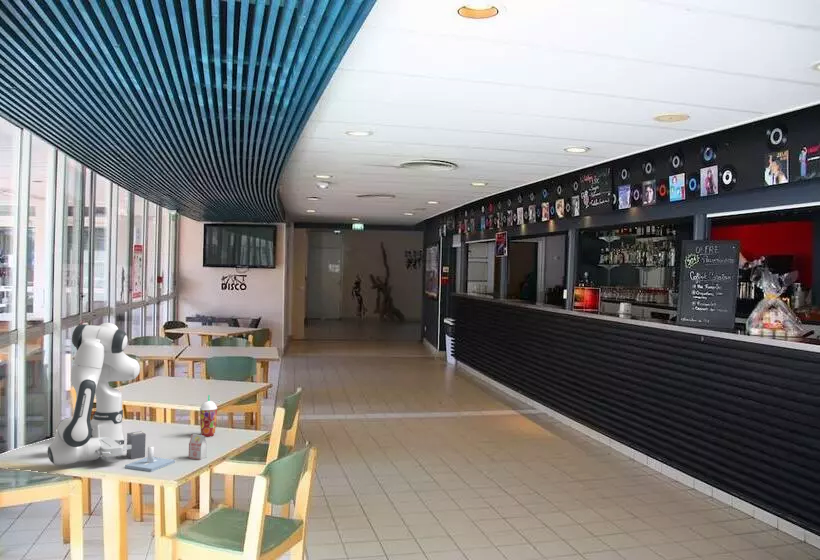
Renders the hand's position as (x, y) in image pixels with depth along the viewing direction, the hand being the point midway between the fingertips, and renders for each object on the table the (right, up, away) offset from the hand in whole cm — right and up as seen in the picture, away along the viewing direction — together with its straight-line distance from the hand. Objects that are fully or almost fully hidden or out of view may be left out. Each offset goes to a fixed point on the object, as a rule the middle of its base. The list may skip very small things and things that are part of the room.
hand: (127, 444), depth 271 cm
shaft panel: (+14, -6, -10) cm, 18 cm away
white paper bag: (+29, -7, +3) cm, 30 cm away
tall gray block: (+3, -6, +2) cm, 7 cm away
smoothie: (+21, -7, +43) cm, 48 cm away
